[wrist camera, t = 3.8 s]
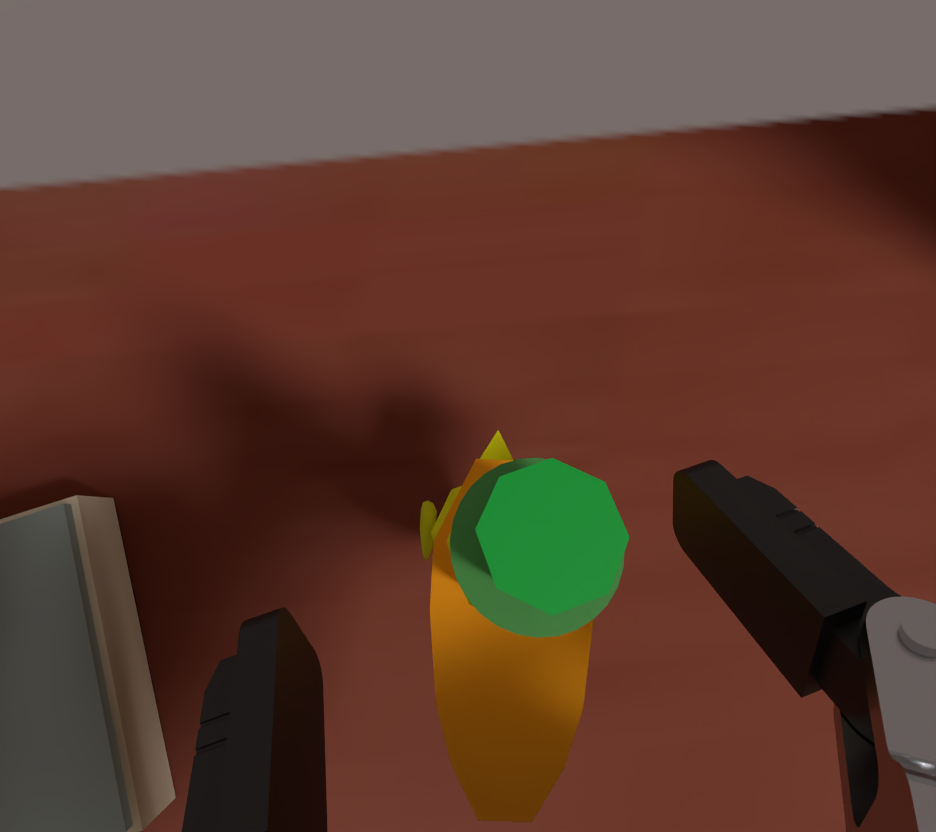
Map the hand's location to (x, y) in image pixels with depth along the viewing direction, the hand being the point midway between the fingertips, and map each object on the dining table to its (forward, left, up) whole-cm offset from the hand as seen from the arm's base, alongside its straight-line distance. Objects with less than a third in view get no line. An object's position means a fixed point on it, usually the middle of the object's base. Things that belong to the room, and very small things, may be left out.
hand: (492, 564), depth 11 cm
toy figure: (0, 0, -7) cm, 7 cm away
